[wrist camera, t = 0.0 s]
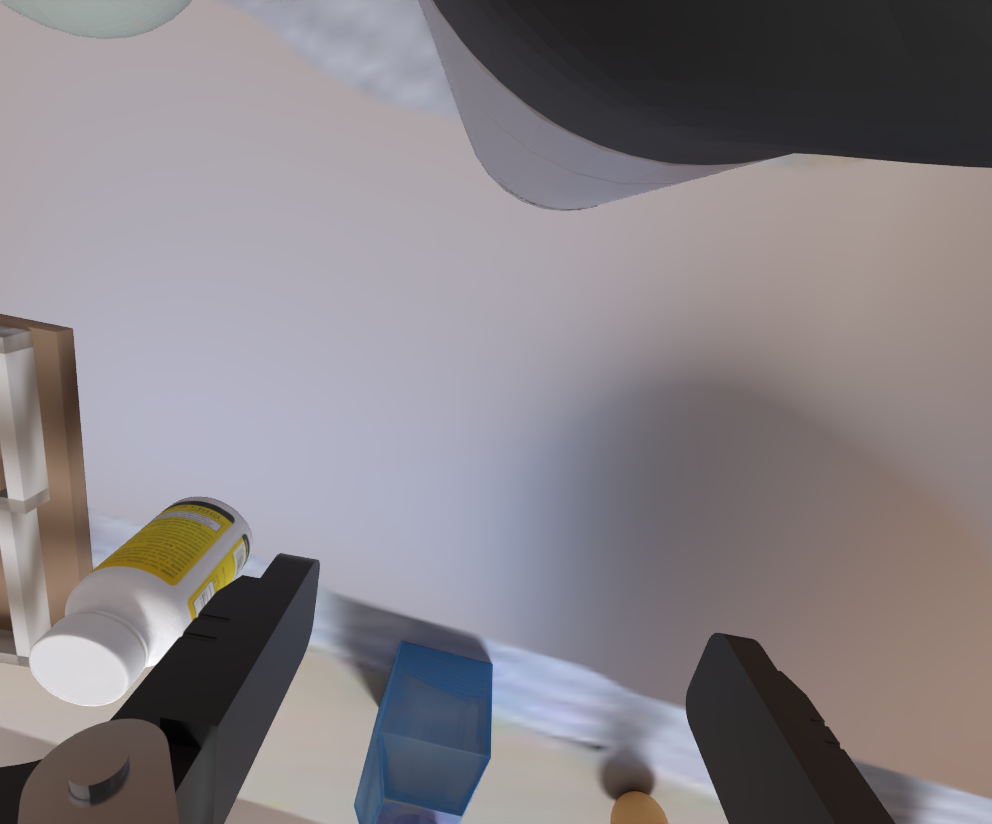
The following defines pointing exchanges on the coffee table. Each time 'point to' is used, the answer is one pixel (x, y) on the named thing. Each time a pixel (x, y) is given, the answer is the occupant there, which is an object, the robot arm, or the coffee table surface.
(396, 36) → the coffee table surface
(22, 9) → the air freshener
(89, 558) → the brown rectangular tray
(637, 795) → the figurine
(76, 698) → the supplement bottle
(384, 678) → the coffee table surface
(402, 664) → the perfume bottle
